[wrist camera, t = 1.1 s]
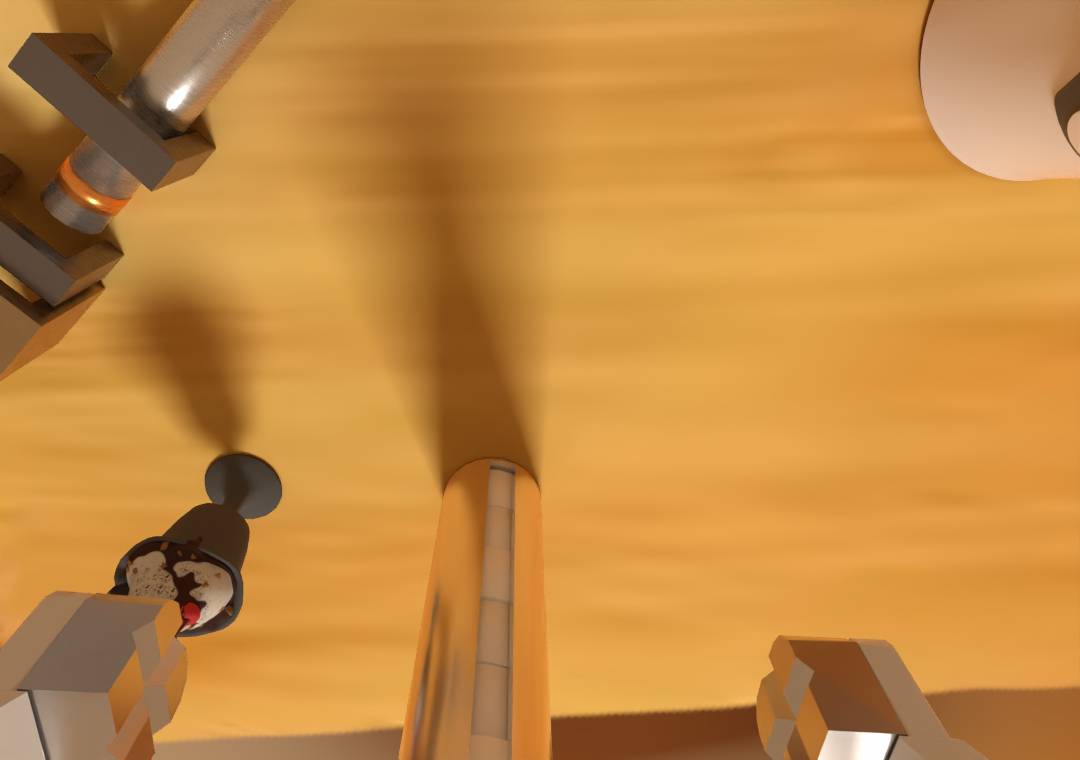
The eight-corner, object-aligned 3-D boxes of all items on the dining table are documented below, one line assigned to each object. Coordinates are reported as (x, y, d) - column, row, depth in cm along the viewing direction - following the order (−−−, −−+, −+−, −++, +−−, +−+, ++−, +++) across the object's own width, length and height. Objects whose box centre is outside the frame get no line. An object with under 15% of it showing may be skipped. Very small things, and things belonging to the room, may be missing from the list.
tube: (254, -96, 34) (265, -73, 32) (311, -41, 37) (324, -16, 35) (40, 178, 39) (37, 212, 37) (103, 210, 41) (104, 244, 39)
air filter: (423, 500, 49) (339, 893, 26) (490, 439, 47) (461, 805, 25) (494, 554, 51) (473, 964, 28) (561, 497, 49) (594, 887, 27)
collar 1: (91, 33, 37) (32, 32, 33) (216, 148, 40) (176, 162, 35) (69, 63, 38) (7, 66, 33) (193, 174, 40) (151, 191, 36)
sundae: (310, 466, 48) (226, 635, 34) (274, 541, 50) (183, 727, 37) (211, 425, 46) (82, 584, 33) (179, 504, 49) (47, 683, 35)
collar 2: (1, 153, 39) (-67, 168, 35) (124, 254, 42) (75, 280, 37) (-19, 179, 40) (-88, 197, 35) (104, 278, 42) (53, 306, 38)
